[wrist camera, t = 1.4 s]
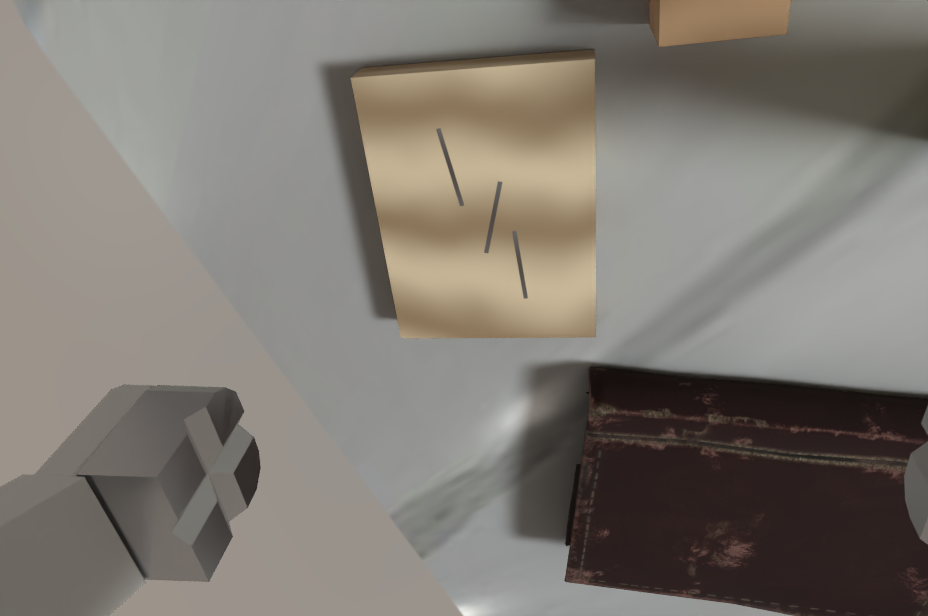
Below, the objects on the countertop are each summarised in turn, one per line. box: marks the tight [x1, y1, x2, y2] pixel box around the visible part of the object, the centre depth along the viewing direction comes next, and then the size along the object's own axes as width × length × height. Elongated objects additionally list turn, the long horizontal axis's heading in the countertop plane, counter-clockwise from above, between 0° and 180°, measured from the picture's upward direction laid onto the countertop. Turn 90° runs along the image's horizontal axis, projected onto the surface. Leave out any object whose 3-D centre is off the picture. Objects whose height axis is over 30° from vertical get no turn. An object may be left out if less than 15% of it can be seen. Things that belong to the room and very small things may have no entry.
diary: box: [565, 367, 928, 616], centre depth 46 cm, size 19×25×5 cm
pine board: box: [351, 49, 596, 338], centre depth 38 cm, size 16×12×2 cm
